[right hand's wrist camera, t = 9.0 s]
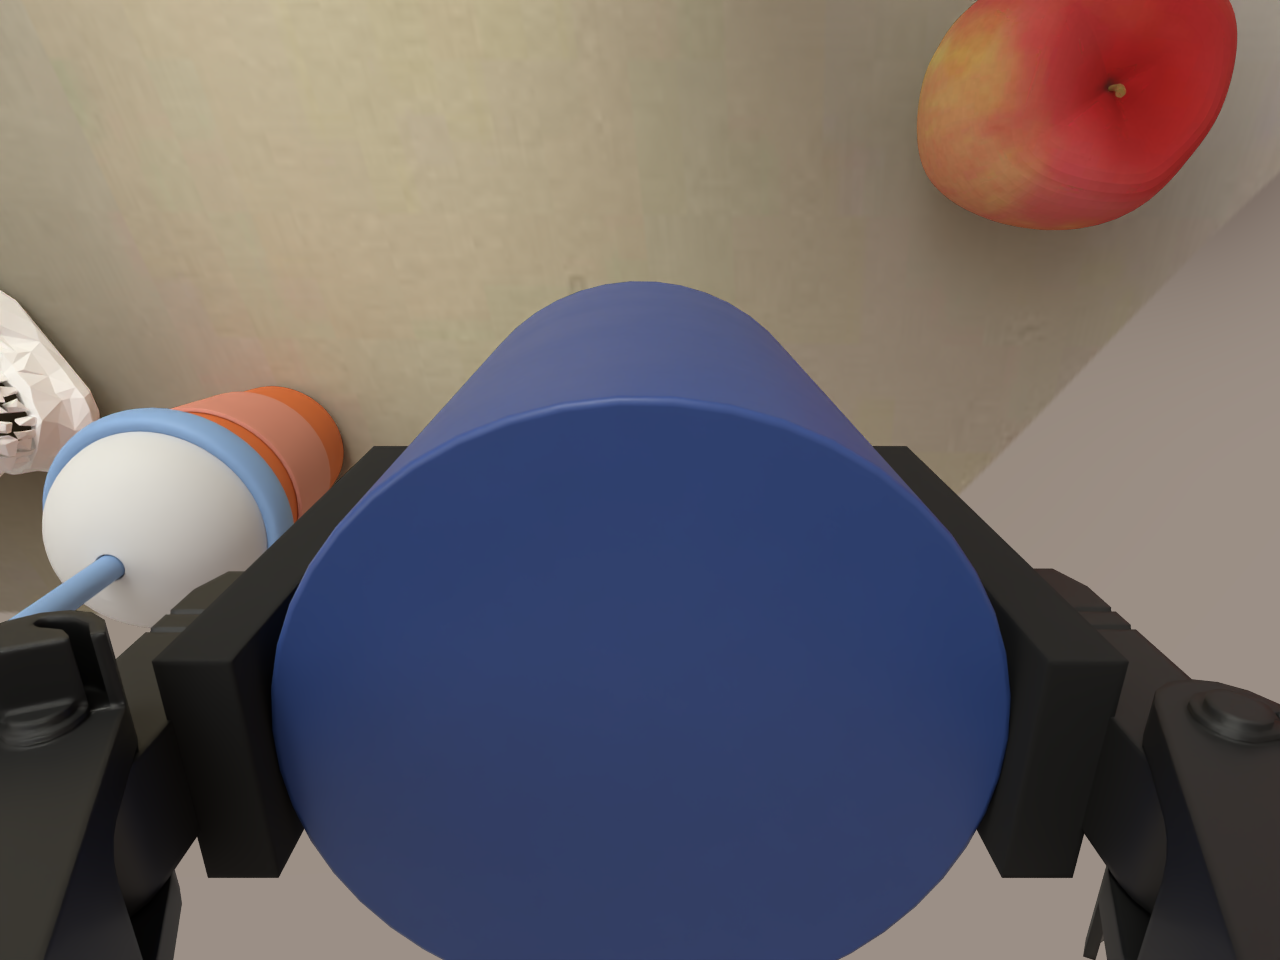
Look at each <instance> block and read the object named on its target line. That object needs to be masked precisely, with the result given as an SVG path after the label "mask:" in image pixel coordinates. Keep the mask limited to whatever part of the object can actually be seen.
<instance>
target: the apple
mask: <svg viewBox="0 0 1280 960" xmlns="http://www.w3.org/2000/svg"><path fill="white" fill-rule="evenodd" d="M1236 49H1237V25H1236V19H1235V14H1234V11H1233V8H1232V5H1231V3H1230V1H1229V0H978V1H977V2H975V3H974V4H973V5H972V6H971V7H970V8H969V9H968V10H966V11H965V12H964V13H963V14H962V15H961V16H960V17H959V18H958V19H957V20H956V21H955V23H954V24H953V25H952V26H951V28H950V29H949V30H948V32H947V33H946V35H945V36H944V38H943V39H942V41H941V43H940V45H939V46H938V48H937V50H936V52H935V54H934V55H933V57H932V59H931V61H930V63H929V66H928V68H927V71H926V73H925V77H924V80H923V84H922V88H921V93H920V99H919V105H918V116H917V140H918V149H919V155H920V158H921V162H922V165H923V168H924V170H925V172H926V174H927V176H928V178H929V179H930V181H931V182H932V183H933V184H934V186H935V187H936V188H937V189H938V190H939V191H940V192H941V193H942V194H944V195H945V196H946V197H947V198H948V199H950V200H951V201H953V202H954V203H956V204H957V205H959V206H961V207H962V208H964V209H966V210H968V211H970V212H972V213H975V214H977V215H979V216H981V217H984V218H987V219H990V220H992V221H996V222H999V223H1003V224H1007V225H1012V226H1017V227H1023V228H1030V229H1040V230H1068V229H1078V228H1084V227H1089V226H1094V225H1099V224H1102V223H1105V222H1108V221H1111V220H1114V219H1117V218H1119V217H1121V216H1123V215H1125V214H1127V213H1129V212H1131V211H1133V210H1135V209H1137V208H1138V207H1140V206H1141V205H1143V204H1144V203H1145V202H1147V201H1148V200H1150V199H1151V198H1152V197H1153V196H1154V195H1155V194H1157V193H1158V192H1159V191H1160V190H1161V189H1162V188H1163V187H1164V186H1165V185H1166V184H1167V183H1168V182H1169V181H1170V180H1171V179H1172V178H1173V177H1174V176H1175V174H1176V173H1177V172H1178V171H1179V170H1180V169H1181V167H1182V166H1183V165H1184V164H1185V162H1186V161H1187V160H1188V159H1189V158H1190V156H1191V155H1192V154H1193V153H1194V151H1195V150H1196V149H1197V148H1198V146H1199V145H1200V144H1201V142H1202V141H1203V139H1204V138H1205V137H1206V135H1207V134H1208V132H1209V131H1210V129H1211V127H1212V126H1213V124H1214V122H1215V121H1216V119H1217V117H1218V115H1219V113H1220V110H1221V108H1222V106H1223V103H1224V101H1225V98H1226V95H1227V92H1228V89H1229V85H1230V81H1231V78H1232V73H1233V69H1234V63H1235V57H1236Z"/></svg>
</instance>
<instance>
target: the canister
mask: <svg viewBox="0 0 1280 960" xmlns="http://www.w3.org/2000/svg"><path fill="white" fill-rule="evenodd" d="M1010 700H1011V695H1010V685H1009V675H1008V665H1007V655H1006V650H1005V647H1004V643H1003V639H1002V635H1001V632H1000V628H999V624H998V621H997V617H996V613H995V611H994V609H993V606H992V604H991V602H990V600H989V598H988V595H987V593H986V591H985V589H984V587H983V584H982V582H981V580H980V578H979V576H978V573H977V572H976V570H975V569H974V567H973V566H972V564H971V563H970V561H969V560H968V558H967V557H966V555H965V554H964V552H963V550H962V549H961V547H960V546H959V544H958V543H957V541H956V540H955V538H954V537H953V535H952V534H951V533H950V532H949V531H948V530H947V528H946V527H945V526H944V525H943V524H942V523H941V522H940V521H939V520H938V518H937V517H936V516H935V515H934V514H933V513H932V512H931V511H930V510H929V508H928V507H927V506H926V505H925V504H924V503H923V502H922V501H921V500H920V499H919V497H918V496H917V495H916V494H915V493H914V492H913V491H912V490H911V489H910V487H909V486H908V485H907V484H906V483H905V482H904V481H903V480H902V479H901V477H900V476H899V475H898V474H897V473H896V472H895V471H894V470H893V469H892V468H891V466H890V465H889V464H888V463H887V462H886V461H885V460H884V459H883V458H882V456H881V455H880V454H879V453H878V452H877V451H876V450H875V449H874V448H873V446H872V445H871V444H870V443H869V442H868V441H867V440H866V439H865V438H864V436H863V435H862V434H861V433H860V432H859V431H858V430H857V429H856V428H855V427H854V425H853V424H852V423H851V422H850V421H849V420H848V419H847V418H846V417H845V415H844V414H843V413H842V412H841V411H840V410H839V409H838V408H837V407H836V405H835V404H834V403H833V402H832V401H831V400H830V399H829V398H828V397H827V396H826V394H825V393H824V392H823V391H822V390H821V389H820V388H819V387H818V386H817V384H816V383H815V382H814V381H813V380H812V379H811V378H810V377H809V376H808V374H807V373H806V372H805V371H804V370H803V369H802V368H801V367H800V366H799V364H798V363H797V362H796V361H795V360H794V359H793V358H792V357H791V356H790V355H789V353H788V352H787V351H786V350H785V349H784V348H783V347H782V346H781V345H780V344H779V342H778V341H777V340H776V339H775V338H774V337H773V336H772V335H771V334H770V333H769V332H768V331H767V330H766V329H765V328H764V327H762V326H761V325H760V324H759V323H758V322H756V321H755V320H754V319H753V318H752V317H750V316H749V315H747V314H746V313H744V312H742V311H741V310H739V309H738V308H736V307H734V306H733V305H731V304H730V303H728V302H725V301H723V300H721V299H719V298H716V297H714V296H712V295H710V294H707V293H705V292H702V291H698V290H695V289H691V288H688V287H684V286H681V285H674V284H667V283H661V282H634V281H630V282H622V283H613V284H605V285H601V286H597V287H593V288H590V289H586V290H582V291H579V292H576V293H574V294H572V295H569V296H567V297H564V298H562V299H559V300H557V301H555V302H553V303H552V304H550V305H548V306H547V307H545V308H543V309H541V310H540V311H538V312H536V313H535V314H533V315H532V316H531V317H530V318H528V319H527V320H526V321H525V322H523V323H522V324H521V325H519V326H518V327H517V328H516V329H515V330H514V331H513V332H512V333H511V334H510V335H509V336H508V337H507V338H506V339H505V340H504V341H503V342H502V343H501V344H500V345H499V346H498V347H497V348H496V350H495V351H494V352H493V353H492V354H491V355H490V356H489V357H488V358H487V360H486V361H485V362H484V363H483V364H482V365H481V366H480V367H479V368H478V370H477V371H476V372H475V373H474V374H473V375H472V376H471V377H470V378H469V380H468V381H467V382H466V383H465V384H464V385H463V386H462V387H461V388H460V390H459V391H458V392H457V393H456V394H455V395H454V396H453V397H452V398H451V400H450V401H449V402H448V403H447V404H446V405H445V406H444V407H443V408H442V410H441V411H440V412H439V413H438V414H437V415H436V416H435V417H434V418H433V420H432V421H431V422H430V423H429V424H428V425H427V426H426V427H425V428H424V430H423V431H422V432H421V433H420V434H419V435H418V436H417V437H416V438H415V440H414V441H413V442H412V443H411V444H410V445H409V446H408V447H407V448H406V450H405V451H404V452H403V453H402V454H401V455H400V456H399V457H398V458H397V459H396V461H395V462H394V463H393V464H392V465H391V466H390V467H389V468H388V469H387V471H386V472H385V473H384V474H383V475H382V476H381V477H380V478H379V479H378V481H377V482H376V483H375V484H374V485H373V486H372V487H371V488H370V489H369V491H368V492H367V493H366V494H365V495H364V496H363V497H362V498H361V499H360V501H359V502H358V503H357V504H356V505H355V506H354V507H353V508H352V509H351V511H350V512H349V513H348V514H347V515H346V516H345V517H344V518H343V519H342V521H341V522H340V523H339V524H338V525H337V526H336V527H335V529H334V530H333V532H332V533H331V534H330V536H329V537H328V539H327V540H326V541H325V543H324V544H323V546H322V547H321V548H320V550H319V551H318V553H317V554H316V555H315V557H314V558H313V560H312V561H311V563H310V564H309V566H308V568H307V570H306V572H305V574H304V576H303V578H302V580H301V582H300V584H299V586H298V588H297V590H296V592H295V594H294V596H293V598H292V600H291V602H290V604H289V607H288V610H287V614H286V617H285V620H284V623H283V627H282V630H281V633H280V637H279V640H278V643H277V648H276V655H275V663H274V670H273V677H272V685H271V702H272V731H273V737H274V742H275V747H276V753H277V758H278V763H279V768H280V772H281V774H282V777H283V780H284V783H285V786H286V789H287V791H288V794H289V797H290V800H291V803H292V806H293V808H294V810H295V812H296V813H297V815H298V817H299V819H300V821H301V823H302V825H303V827H304V829H305V831H306V832H307V834H308V836H309V838H310V840H311V842H312V843H313V844H314V846H315V847H316V849H317V850H318V851H319V853H320V854H321V856H322V857H323V858H324V860H325V861H326V863H327V864H328V866H329V867H330V868H331V870H332V871H333V873H334V874H335V875H336V876H337V877H338V878H339V879H340V880H341V881H342V882H343V883H344V884H345V886H346V887H347V888H348V889H349V890H350V891H351V892H352V893H353V894H354V895H355V896H356V897H357V898H358V900H359V901H360V902H362V903H363V904H364V905H365V906H366V907H367V908H369V909H370V910H371V911H372V912H373V913H374V914H376V915H377V916H378V917H379V918H380V919H382V920H383V921H384V922H385V923H386V924H387V925H389V926H390V927H391V928H393V929H394V930H396V931H397V932H398V933H400V934H401V935H403V936H404V937H406V938H407V939H409V940H410V941H412V942H413V943H415V944H416V945H418V946H419V947H421V948H422V949H424V950H426V951H428V952H430V953H431V954H433V955H435V956H437V957H439V958H441V959H443V960H839V959H841V958H843V957H845V956H847V955H849V954H851V953H852V952H854V951H855V950H857V949H858V948H860V947H862V946H863V945H865V944H866V943H868V942H869V941H871V940H872V939H874V938H876V937H877V936H879V935H880V934H882V933H883V932H885V931H886V930H887V929H889V928H890V927H891V926H892V925H893V924H895V923H896V922H897V921H899V920H900V919H901V918H902V917H903V916H905V915H906V914H907V913H908V912H910V911H911V910H912V909H913V908H915V907H916V906H917V905H918V904H919V903H920V902H921V900H922V899H923V898H924V897H925V896H926V895H927V894H928V893H929V892H930V891H931V890H932V889H933V888H934V887H935V886H936V885H937V884H938V883H939V882H940V881H941V880H942V879H943V878H944V876H945V875H946V874H947V872H948V871H949V870H950V868H951V867H952V866H953V864H954V863H955V862H956V860H957V859H958V858H959V856H960V855H961V854H962V852H963V851H964V850H965V848H966V847H967V845H968V844H969V842H970V840H971V838H972V836H973V835H974V833H975V831H976V829H977V828H978V826H979V824H980V822H981V820H982V819H983V817H984V815H985V813H986V811H987V808H988V806H989V803H990V800H991V798H992V795H993V793H994V790H995V787H996V785H997V782H998V780H999V777H1000V773H1001V768H1002V764H1003V759H1004V755H1005V750H1006V746H1007V741H1008V733H1009V717H1010Z"/></svg>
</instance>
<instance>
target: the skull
mask: <svg viewBox="0 0 1280 960" xmlns="http://www.w3.org/2000/svg"><path fill="white" fill-rule="evenodd" d="M0 383H3V384H4V385H5V387H3V386H0V402H4V403H5V400H4V398H3V397H6V396H9V395H13V394H16V396H17V397H18V399H19V400H20V402H21V403H20V402H19V401H18V399H14V400H12V401H10V402H7V403H5V404H3V405H2V406H3V407H4V408H5V410H6V411H5V410H4V409H2V408H1V407H0V413H13V412H23V411H25V412H26V414H27V416H26V417H21V418H17V419H15V422H16V423H17V424H18V425H20V426H31V430H27V431H21V432H13V433H14V434H15V435H16V437H17V438H18V439H19V440H20V441H18V439H16V438H14V437H11V436H9V435H6V436H0V477H1V476H2V475H3V474H4V473H8V474H12V475H15V474H22V473H28V472H34V471H44V472H48V471H49V468H50V466H51V464H52V462H53V460H54V458H55V457H56V455H57V454H58V452H59V451H60V449H61V448H62V447H63V446H64V445H65V444H66V443H67V441H68V440H69V439H70V438H71V437H73V436H74V435H75V434H76V433H77V432H78V431H80V430H81V429H83V428H84V427H86V426H87V425H89V424H90V423H92V422H94V421H96V420H98V419H100V416H99V410H98V407H97V405H96V403H95V400H94V398H93V396H92V393H91V391H90V389H89V388H88V387H87V386H86V384H85V383H84V382H83V381H82V380H81V378H80V377H79V376H78V375H77V374H76V372H75V371H74V370H73V369H72V367H71V366H70V365H69V364H68V363H67V361H66V360H65V359H64V358H63V356H62V355H61V354H60V353H59V352H58V350H57V349H56V348H55V347H54V345H53V344H52V343H51V342H50V340H49V339H48V338H47V337H46V336H45V334H44V333H43V332H42V331H41V329H40V328H39V327H38V326H37V325H36V323H35V322H34V321H33V320H32V318H31V317H30V316H29V315H28V314H27V312H26V311H25V310H24V309H23V308H22V307H21V305H20V304H19V303H18V302H17V301H16V300H15V299H13V298H12V297H10V296H9V295H7V294H5V293H4V292H2V291H1V290H0ZM11 431H12V423H11V422H2V421H0V433H6V434H8V433H10V432H11ZM29 438H30V439H29Z"/></svg>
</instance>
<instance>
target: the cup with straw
mask: <svg viewBox="0 0 1280 960" xmlns="http://www.w3.org/2000/svg"><path fill="white" fill-rule="evenodd" d="M342 464H343V443H342V439H341V435H340V432H339V430H338V428H337V426H336V424H335V422H334V421H333V419H332V418H331V416H330V415H329V414H328V412H327V411H326V410H325V409H324V408H323V407H322V406H321V405H320V404H318V403H317V402H316V401H315V400H313V399H312V398H310V397H308V396H307V395H305V394H303V393H300V392H298V391H295V390H292V389H289V388H284V387H276V386H268V387H260V388H255V389H251V390H248V391H244V392H230V393H223V394H220V395H216V396H213V397H209V398H206V399H202V400H199V401H195V402H192V403H188V404H185V405H181V406H178V407H174V408H171V409H166V408H138V409H131V410H125V411H121V412H117V413H113V414H110V415H108V416H105V417H102V418H100V419H98V420H96V421H94V422H92V423H90V424H89V425H87V426H86V427H84V428H83V429H81V430H80V431H78V432H77V433H76V434H75V435H74V436H73V437H71V438H70V439H69V440H68V441H67V443H66V444H65V445H64V446H63V447H62V448H61V449H60V451H59V452H58V454H57V455H56V457H55V458H54V460H53V462H52V464H51V466H50V468H49V471H48V474H47V476H46V480H45V485H44V491H43V518H42V534H43V541H44V546H45V550H46V553H47V556H48V559H49V561H50V563H51V566H52V568H53V569H54V571H55V573H56V575H57V576H58V577H59V579H60V580H61V582H62V584H61V585H59V586H58V587H56V588H55V589H53V590H52V591H51V592H49V593H48V594H46V595H45V596H43V597H42V598H40V599H39V600H37V601H36V602H34V603H33V604H31V605H30V606H28V607H27V608H25V609H24V610H22V611H21V612H19V613H18V614H17V615H15V616H14V617H12V618H11V619H9V620H12V619H16V618H20V617H25V616H29V615H33V614H38V613H43V612H54V611H65V610H74V611H75V610H76V609H77V608H79V607H80V606H81V605H83V604H85V605H86V606H88V607H89V608H91V609H92V610H94V611H96V612H98V613H99V614H101V615H104V616H106V617H108V618H110V619H113V620H116V621H118V622H122V623H125V624H128V625H133V626H138V627H145V628H151V627H152V626H153V625H155V624H156V623H157V622H158V621H159V620H160V619H161V618H162V617H163V616H165V615H166V614H170V610H171V609H172V608H173V607H175V606H176V605H177V604H178V603H179V602H180V601H181V600H182V599H183V598H185V597H186V596H187V595H188V594H189V593H190V592H191V591H192V590H194V589H195V588H197V587H199V586H201V585H203V584H205V583H207V582H209V581H211V580H213V579H215V578H217V577H219V576H220V575H222V574H224V573H226V572H228V571H245V570H247V569H248V568H249V567H250V566H251V565H252V564H253V563H254V562H255V561H256V560H257V559H258V558H259V557H260V556H261V555H262V554H263V553H264V552H265V551H266V550H267V549H268V548H269V547H270V546H271V545H272V544H273V543H274V542H275V541H277V540H278V539H279V538H280V537H281V536H282V535H283V534H284V533H285V532H286V531H287V530H288V529H289V528H290V527H291V526H292V525H293V524H294V523H295V522H296V521H297V520H298V519H299V518H300V517H301V516H302V515H303V514H304V513H305V512H306V511H308V510H309V509H310V508H311V507H312V506H313V505H314V504H315V503H316V502H317V501H318V500H319V499H320V498H321V497H322V496H323V495H324V494H325V493H326V492H327V491H328V490H329V489H330V488H331V487H332V485H333V484H334V482H335V481H336V479H337V477H338V475H339V473H340V471H341V468H342Z"/></svg>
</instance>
